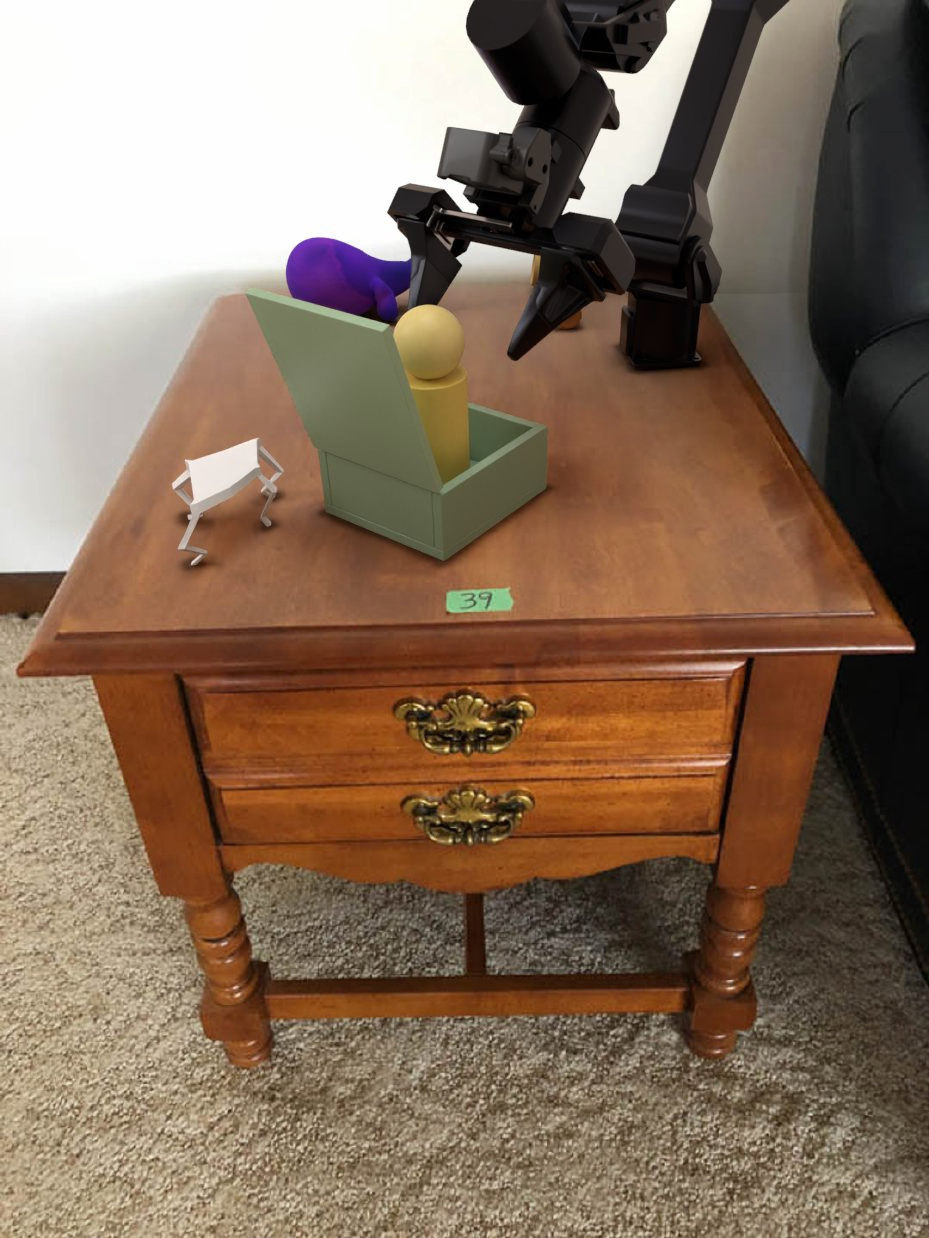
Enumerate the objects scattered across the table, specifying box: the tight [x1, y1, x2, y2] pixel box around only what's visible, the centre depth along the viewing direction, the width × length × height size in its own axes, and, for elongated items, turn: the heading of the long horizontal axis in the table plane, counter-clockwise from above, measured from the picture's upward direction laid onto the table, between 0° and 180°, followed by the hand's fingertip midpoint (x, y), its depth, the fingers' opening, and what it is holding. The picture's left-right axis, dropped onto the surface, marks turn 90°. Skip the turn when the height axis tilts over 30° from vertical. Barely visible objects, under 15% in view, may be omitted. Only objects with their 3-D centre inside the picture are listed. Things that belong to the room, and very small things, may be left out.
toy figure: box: [393, 305, 470, 485], centre depth 74 cm, size 5×5×14 cm
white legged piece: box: [171, 437, 285, 566], centre depth 75 cm, size 12×8×5 cm
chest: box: [317, 401, 549, 562], centre depth 77 cm, size 13×12×5 cm
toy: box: [285, 236, 411, 322], centre depth 109 cm, size 9×10×15 cm
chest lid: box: [244, 286, 443, 493], centre depth 67 cm, size 13×12×1 cm
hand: (459, 344), depth 74 cm, fingers open, 9 cm apart
